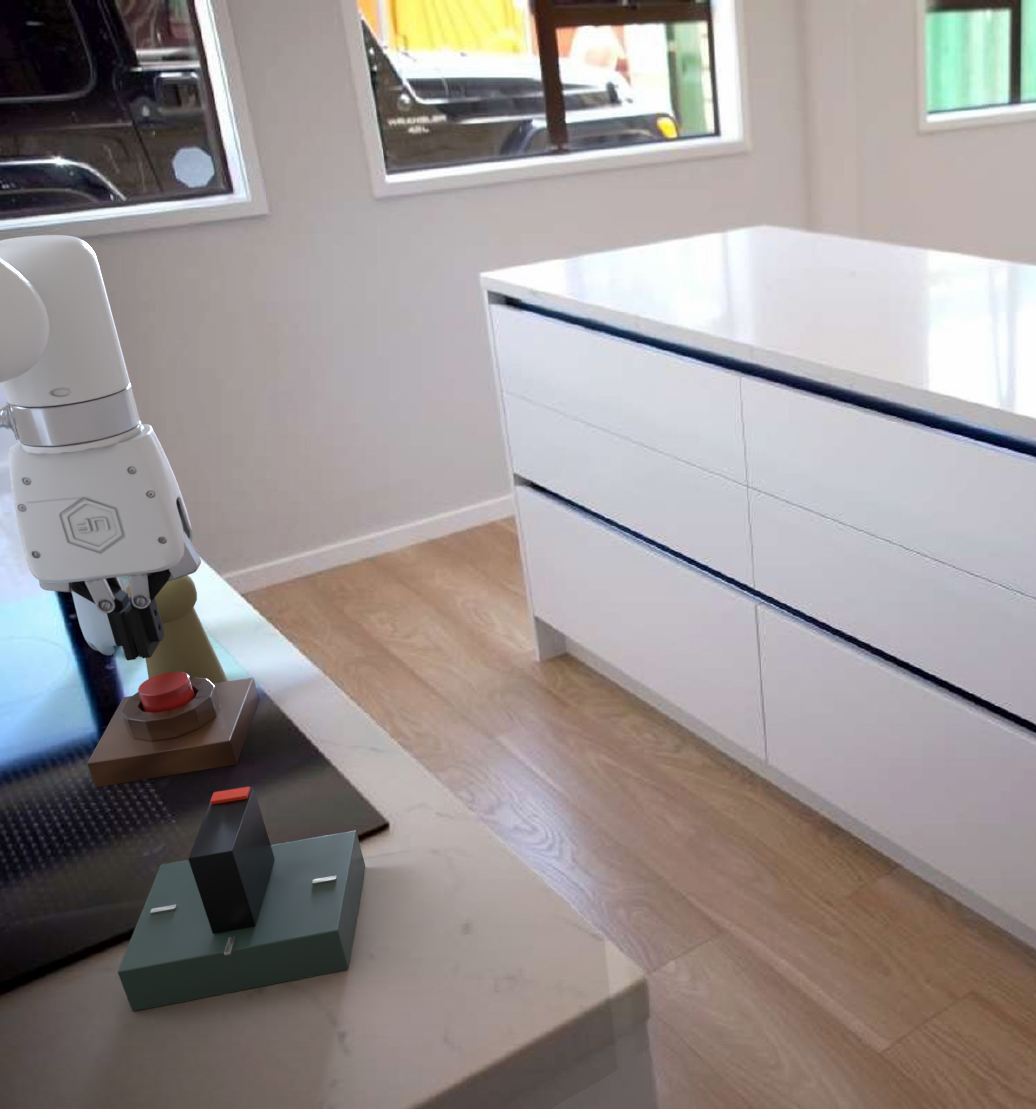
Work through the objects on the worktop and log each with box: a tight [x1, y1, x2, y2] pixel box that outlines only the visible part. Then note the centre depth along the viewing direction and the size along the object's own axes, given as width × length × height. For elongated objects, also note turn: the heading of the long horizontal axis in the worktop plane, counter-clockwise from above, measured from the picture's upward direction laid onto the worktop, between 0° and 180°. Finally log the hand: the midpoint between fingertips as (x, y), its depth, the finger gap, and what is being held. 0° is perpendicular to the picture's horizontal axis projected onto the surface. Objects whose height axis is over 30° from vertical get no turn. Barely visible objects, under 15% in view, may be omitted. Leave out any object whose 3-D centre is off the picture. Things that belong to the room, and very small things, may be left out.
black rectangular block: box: [187, 786, 275, 934], centre depth 76 cm, size 6×2×6 cm, turn 12°
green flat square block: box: [117, 830, 366, 1012], centre depth 78 cm, size 12×11×3 cm
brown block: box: [86, 677, 260, 788], centre depth 99 cm, size 10×10×4 cm
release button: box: [137, 672, 195, 713], centre depth 98 cm, size 4×4×2 cm
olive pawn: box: [126, 575, 229, 684], centre depth 104 cm, size 6×6×11 cm
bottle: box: [71, 576, 130, 656], centre depth 112 cm, size 7×7×20 cm
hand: (143, 650), depth 96 cm, fingers closed
